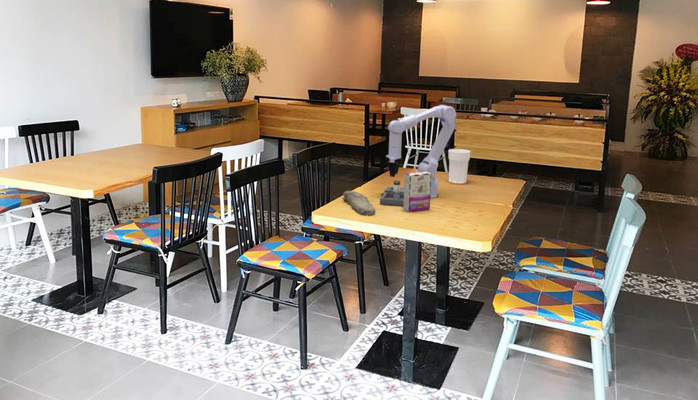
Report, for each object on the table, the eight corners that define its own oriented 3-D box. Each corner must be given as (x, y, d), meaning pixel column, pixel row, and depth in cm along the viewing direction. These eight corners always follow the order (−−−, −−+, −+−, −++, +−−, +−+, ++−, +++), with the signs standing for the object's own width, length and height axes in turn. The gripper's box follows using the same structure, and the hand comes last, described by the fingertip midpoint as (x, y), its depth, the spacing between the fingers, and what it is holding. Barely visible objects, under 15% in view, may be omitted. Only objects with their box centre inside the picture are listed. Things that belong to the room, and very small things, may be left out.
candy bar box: (423, 207, 266) (425, 171, 262) (430, 209, 261) (432, 173, 257) (402, 209, 260) (404, 172, 257) (408, 212, 256) (410, 174, 252)
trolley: (412, 195, 287) (413, 181, 286) (409, 199, 279) (410, 184, 277) (384, 192, 291) (385, 178, 289) (381, 197, 282) (381, 182, 280)
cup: (471, 182, 321) (473, 150, 317) (463, 186, 311) (465, 153, 307) (451, 179, 327) (453, 148, 322) (443, 183, 317) (445, 150, 313)
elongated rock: (357, 220, 248) (380, 220, 251) (358, 208, 247) (381, 208, 249) (338, 196, 281) (359, 196, 283) (339, 185, 279) (360, 185, 282)
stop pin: (400, 200, 273) (401, 181, 271) (398, 201, 270) (399, 182, 268) (393, 199, 274) (394, 180, 272) (392, 201, 271) (392, 182, 269)
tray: (413, 200, 277) (413, 194, 276) (408, 207, 265) (408, 201, 264) (385, 198, 280) (385, 192, 279) (379, 204, 268) (379, 198, 267)
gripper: (389, 143, 286) (388, 171, 289) (383, 148, 272) (382, 177, 276) (403, 144, 284) (402, 172, 288) (399, 149, 271) (397, 178, 274)
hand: (393, 175), depth 282 cm, fingers open, 7 cm apart
